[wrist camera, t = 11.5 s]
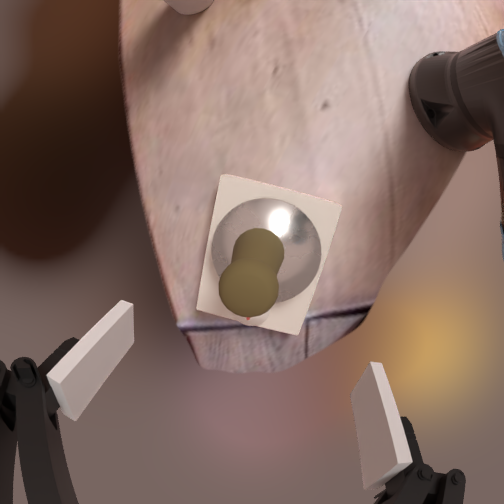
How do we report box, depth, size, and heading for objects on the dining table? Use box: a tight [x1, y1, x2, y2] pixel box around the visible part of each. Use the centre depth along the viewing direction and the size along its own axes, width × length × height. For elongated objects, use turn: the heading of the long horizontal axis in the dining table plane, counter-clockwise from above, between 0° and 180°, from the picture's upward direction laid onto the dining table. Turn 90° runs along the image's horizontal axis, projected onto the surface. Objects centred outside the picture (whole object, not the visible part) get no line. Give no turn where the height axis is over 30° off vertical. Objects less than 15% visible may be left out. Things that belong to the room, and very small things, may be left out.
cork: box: [218, 228, 284, 318], centre depth 27 cm, size 6×6×11 cm
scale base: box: [196, 174, 342, 335], centre depth 36 cm, size 15×19×4 cm
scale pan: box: [211, 197, 322, 303], centre depth 33 cm, size 13×13×1 cm
